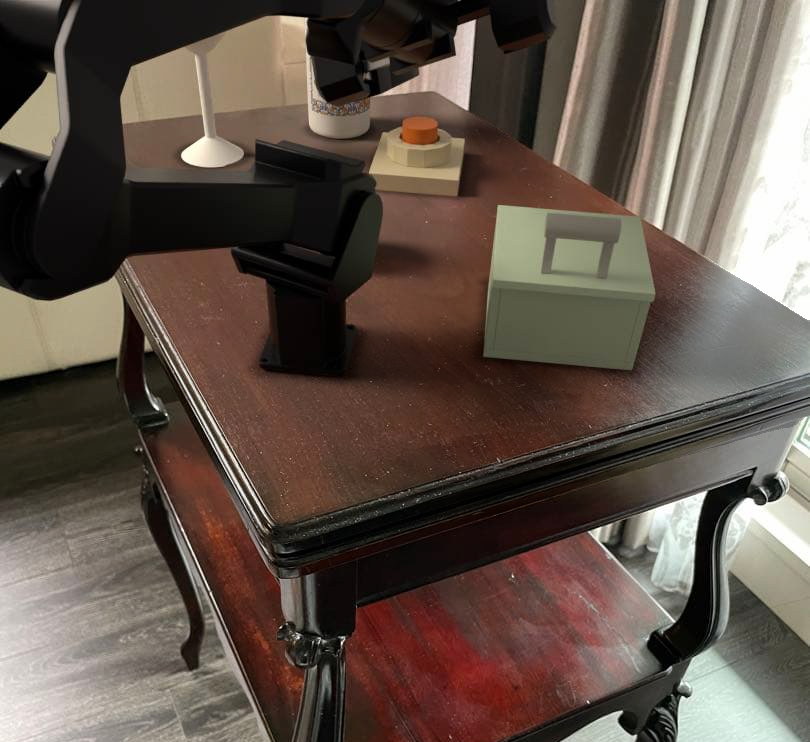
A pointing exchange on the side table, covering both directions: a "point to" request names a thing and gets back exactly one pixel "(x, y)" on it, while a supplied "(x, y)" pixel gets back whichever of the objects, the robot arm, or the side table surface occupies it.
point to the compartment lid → (571, 253)
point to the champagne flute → (209, 116)
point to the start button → (419, 131)
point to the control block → (418, 164)
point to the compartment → (562, 327)
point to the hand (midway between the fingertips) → (467, 52)
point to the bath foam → (334, 111)
